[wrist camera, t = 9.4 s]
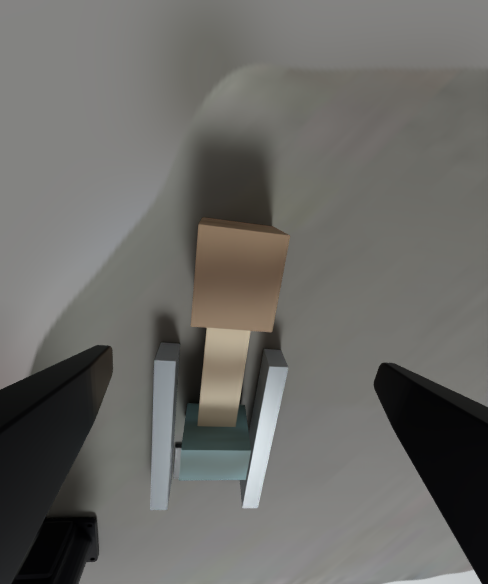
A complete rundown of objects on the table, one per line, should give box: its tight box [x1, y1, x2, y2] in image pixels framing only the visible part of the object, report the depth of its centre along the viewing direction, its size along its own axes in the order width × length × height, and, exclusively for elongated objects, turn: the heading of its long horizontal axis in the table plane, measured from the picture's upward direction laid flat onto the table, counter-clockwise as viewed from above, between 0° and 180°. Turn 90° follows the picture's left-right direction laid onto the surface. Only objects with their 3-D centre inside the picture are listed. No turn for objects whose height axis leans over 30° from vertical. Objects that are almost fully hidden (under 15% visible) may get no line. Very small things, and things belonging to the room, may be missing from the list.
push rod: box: [179, 328, 251, 480], centre depth 20 cm, size 12×5×4 cm, turn 172°
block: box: [191, 217, 290, 332], centre depth 18 cm, size 6×5×5 cm
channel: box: [150, 342, 288, 510], centre depth 24 cm, size 16×10×2 cm, turn 172°
